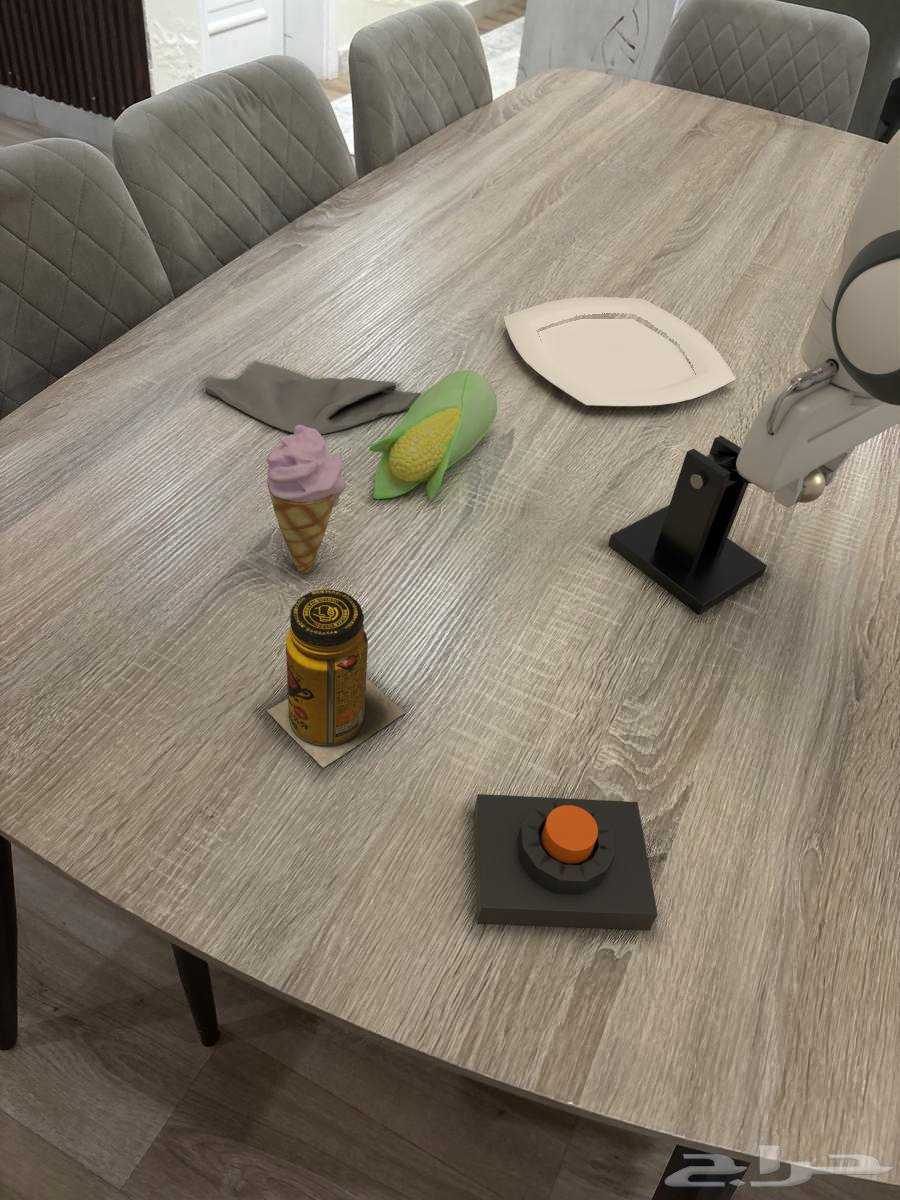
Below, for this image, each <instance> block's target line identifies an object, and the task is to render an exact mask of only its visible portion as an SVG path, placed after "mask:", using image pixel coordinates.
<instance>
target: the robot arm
mask: <svg viewBox="0 0 900 1200" xmlns="http://www.w3.org/2000/svg"><path fill="white" fill-rule="evenodd" d="M800 356H801V359H802V361H803V363H804V364H805V365H806V367H808V369H809V370H807V371H802V372H799V373H797V374H795V375H794V376H793V377H792V378H791V379H790V380H789V381H786V382H785V383H782V384H781V385H779V386H777V387H776V388H775V389H773V391H771V393H770V394H768V395H767V397H766V399H765V400H764V402H763V403H762V405H761V407H760V408H759V410H758V412H757V414H756V416H755V417H754V420H753V422H752V424H751V426H750V428H749V430H748V432H747V434H746V437H745V439H744V441H743V444H742V446H741V447H740V448H741V451H740V453H739V455H738V458H737V461H736V467H737V471H738V473H739V474H740V475H741V476H742V477H743V478H745V479H746V480H748V481H749V482H751V483H752V484H751V485H753V486H756V487H757V488H759V489H760V490H762V491H764V492H765V493H773V498H774V500H775V501H776V502H777V503H779V504H780V505H782V506H783V507H785V508H791V507H792V506H794V505H796V504H798V503H800V502H799V501H801V499H802V496H803V494H804V493H805V490H806V488H807V487H806V486H805V485H803V479H804V477H806V476H808V474H809V472H811V471H813V470H814V469H816V468H818V469H819V470H820V471H821V472H822V473H823V475H824V478H825V488H826V487H827V486H829V485H831V484H832V483H833V481H834V479H835V477H836V475H837V472H838V470H839V469H840V468H841V467H842V466H843V465H844V463H845V462H846V461H847V459H848V458H849V457H850V456H851V455H852V454H853V452H855V449H856V447H858V446H860V445H862V444H863V443H865V442H867V441H869V440H871V439H872V438H874V437H876V436H878V435H880V434H882V433H883V432H885V431H887V430H889V429H891V428H893V427H895V426H897V425H898V424H899V423H900V128H899V129H898V130H897V131H896V133H895V134H894V135H893V136H892V138H891V139H890V140H889V142H888V143H887V145H886V146H885V148H884V149H883V151H882V153H880V156H879V157H878V160H877V161H876V164H875V165H874V167H873V169H872V170H871V173H870V175H869V177H868V179H867V181H866V183H865V185H864V188H863V190H862V193H861V194H860V197H859V199H858V201H857V204H856V206H855V208H854V211H853V214H852V216H851V219H850V221H849V224H848V226H847V229H846V232H845V235H844V239H843V249H842V255H841V260H840V262H839V265H838V266H837V269H836V271H835V272H834V274H833V275H832V276H831V277H830V279H829V281H828V282H827V283H826V284H825V286H824V289H823V291H822V294H821V296H820V298H819V301H818V303H817V306H816V309H815V311H814V314H813V316H812V319H811V322H810V324H809V327H808V329H807V332H806V334H805V337H804V340H803V341H802V345H801V347H800Z"/></svg>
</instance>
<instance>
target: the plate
mask: <svg viewBox="0 0 900 1200" xmlns="http://www.w3.org/2000/svg"><path fill="white" fill-rule="evenodd" d="M602 313H603V314H604V313H605V314H606V313H612V314H613V313H616V314H617V313H620V314H621V313H624V314H626V313H627V314H630V313H631V314H635V315H637V316H638V317H641V318H643V319H644V320H648V322H650V323H651V324H652V325H654V327H656V328H658V329H659V330H662V332H665V333H666V334H667V336H669V337H670V338H671V339H674V341H676V342H677V343H678V344H680V348H682V350H683V351H684V352H685V354H686V355H687V358H688V359H689V361H690V362H691V364H692V365H693V367H694V368H693V369H694V371H695V373H696V375H695V373H694V371H693V370H692V368H691V366H690V364H689V363H688V362H687V360H686V359H685V357H684V356H683V354H682V353H681V352H680V351H679V349H678V348H677V347H676V346H675V345H674V344H673V343H672V342H670V341H669V340H667V339H666V338H664V337H663V336H661V335H660V334H658V333H656V332H655V331H653V330H651V329H650V328H648V327H646V326H644V325H643V324H641V323H639V322H637V321H635V320H634V319H580V320H576V321H572V322H568V323H564V324H561V325H558V326H555V327H551V328H548V329H546V330H543V331H540V332H538V333H539V335H538V333H537V331H536V330H538V329H539V328H541V327H545V326H548V325H550V324H552V323H557V322H559V321H562V320H563V319H564V320H566V319H569V318H573V317H575V316H576V315H577V316H579V315H584V314H585V315H588V314H590V315H592V314H602ZM503 321H504V324H505V328H506V330H507V333H508V335H509V338H510V341H511V343H512V344H513V346H514V348H515V350H516V352H517V353H518V354H519V356H520V357H521V359H522V360H523V361H524V363H525V364H526V365H527V366H528V367H530V368H531V370H533V371H534V372H535V373H537V375H539V376H540V377H541V378H543V379H544V380H546V381H547V382H548V383H550V384H551V385H552V386H554V387H555V388H557V389H558V390H560V391H561V392H563V393H564V394H565V395H567V396H569V397H570V398H572V399H574V400H575V401H576V402H579V403H580V404H581V405H583V406H585V407H592V408H593V407H594V408H595V407H599V408H649V407H650V408H651V407H661V406H662V407H663V406H670V405H676V404H680V403H684V402H689V401H693V400H695V399H698V398H701V397H704V396H707V395H709V394H711V393H713V392H714V391H718V390H719V389H721V388H723V387H725V386H727V385H729V384H731V383H733V382H735V381H736V380H737V379H736V377H735V374H734V373H733V371H732V370H731V368H730V366H729V365H728V364H727V362H726V361H725V359H724V358H723V356H722V355H721V354H720V352H719V351H718V350H717V349H716V348H715V346H714V345H713V344H712V343H711V342H710V341H709V340H708V339H707V338H706V337H705V336H704V335H703V334H702V333H700V332H699V331H698V330H697V329H695V328H694V327H693V326H691V325H690V324H688V323H686V322H685V321H683V320H681V319H680V318H679V317H676V316H675V315H673V314H671V313H670V312H668V311H666V310H664V309H662V308H661V307H659V306H657V305H656V304H653V303H651V302H649V301H648V300H645V299H643V298H638V297H637V298H635V297H634V298H633V297H613V296H612V297H610V296H608V297H607V296H593V297H591V296H589V297H587V296H585V297H584V296H583V297H573V298H572V297H571V298H570V297H569V298H562V299H557V300H556V299H555V300H552V301H551V300H550V301H547V302H544V303H539V304H537V305H533V306H530V307H527V308H524V309H522V310H518V311H516V312H513V313H510V314H507V315H505V316H503ZM539 336H540V337H539ZM540 339H541V340H540ZM541 341H542V342H541Z"/></svg>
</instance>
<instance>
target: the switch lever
mask: <svg viewBox="0 0 900 1200" xmlns="http://www.w3.org/2000/svg"><path fill="white" fill-rule="evenodd" d="M705 456H706V457H708V458H709V459H711V460H712V461H714V462H715V463H717V464H718V465H720V466H721V467H723V468H725V469H726V470H728V471H729V472H731V475H730V477H729V480H728V483H727V486H726V487H728V486H730V485H732V484H734V483H736V482H744V483H749V484H751V485H753V484H752V483H751V482H749V481H748V480H746V479H745V478H743V477H742V476H741V475H740V474H739V473H738V471H737V467H736V457H733V456H726V455H718V454H709V453H708V454H707V455H705ZM803 485H805V486H806V487H807V488H806V490H805V493H804V494H803V496H802V499H801V501H799V502H798V503H802V504H808V503H811V502H814V501H816V500H817V499H819V498H820V497H821V495H822V494H823V493H824V491H825V488H826V487H825V478H824V475H823V473H822V472H821V471H820V470H819V469H818V468H816V469H814V470H813V471H811V472H809V474H808V476H806V477H804V479H803Z"/></svg>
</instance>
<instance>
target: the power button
mask: <svg viewBox="0 0 900 1200" xmlns="http://www.w3.org/2000/svg"><path fill="white" fill-rule="evenodd" d="M597 836H598V827H597V824H596V822H595V820H594V818H593V817H592V816H591V815H590V814H589V813H588V812H587V811H586V810H584V809H582V808H580V807H577V806H573V805H563V806H559V807H557V808H555V809H554V810H552V811H551V812H550V813H549V815H548V817H547V819H546V823H545V826H544V829H543V833H542V843H543V846H544V848H545V850H546V851H547V852H548V854H549V855H550V856H551V857H553V858H554V859H556V860H558V861H560V862H562V863H567V864H576V863H580V862H582V861H584V860H586V859H587V858H588V857H589V856H590V854H591V852H592V850H593V847H594V845H595V842H596V839H597Z"/></svg>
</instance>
